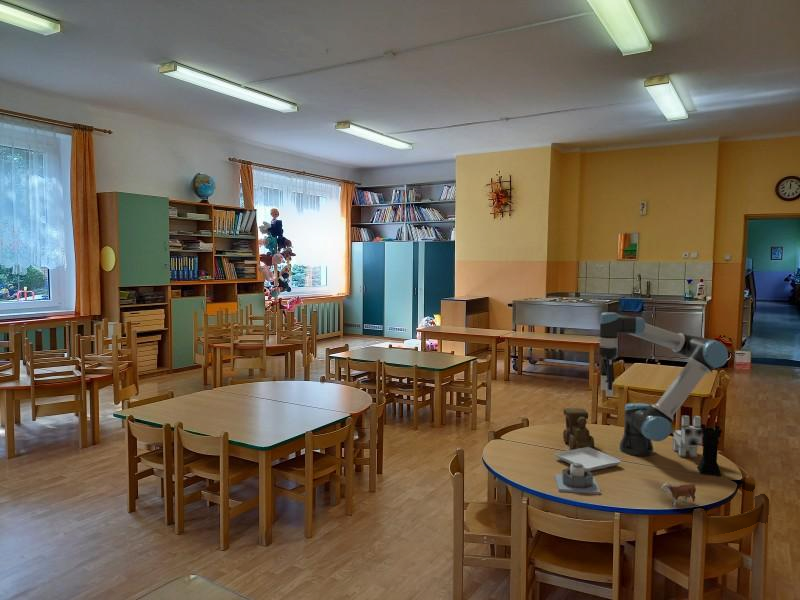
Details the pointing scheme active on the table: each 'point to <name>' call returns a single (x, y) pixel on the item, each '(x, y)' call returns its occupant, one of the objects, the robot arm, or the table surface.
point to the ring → (577, 479)
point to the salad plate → (588, 458)
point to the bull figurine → (680, 491)
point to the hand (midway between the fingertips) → (606, 393)
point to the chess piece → (710, 451)
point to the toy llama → (688, 437)
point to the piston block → (576, 471)
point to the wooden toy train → (577, 429)
